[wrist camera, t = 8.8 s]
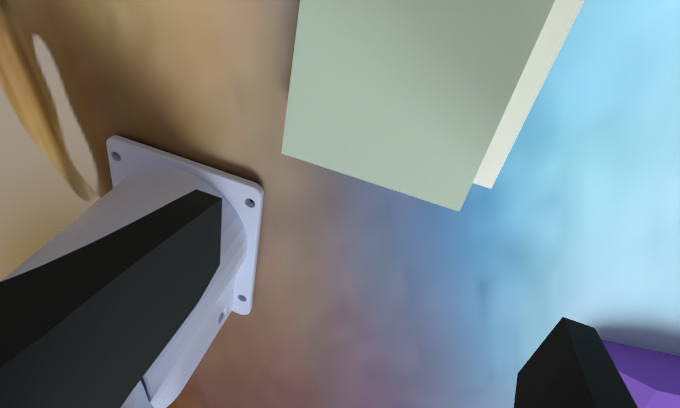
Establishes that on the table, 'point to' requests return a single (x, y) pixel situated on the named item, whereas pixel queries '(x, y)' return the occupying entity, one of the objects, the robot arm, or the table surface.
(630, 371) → the bracket
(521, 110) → the stub plate
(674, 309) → the table surface
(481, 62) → the housing
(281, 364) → the table surface
